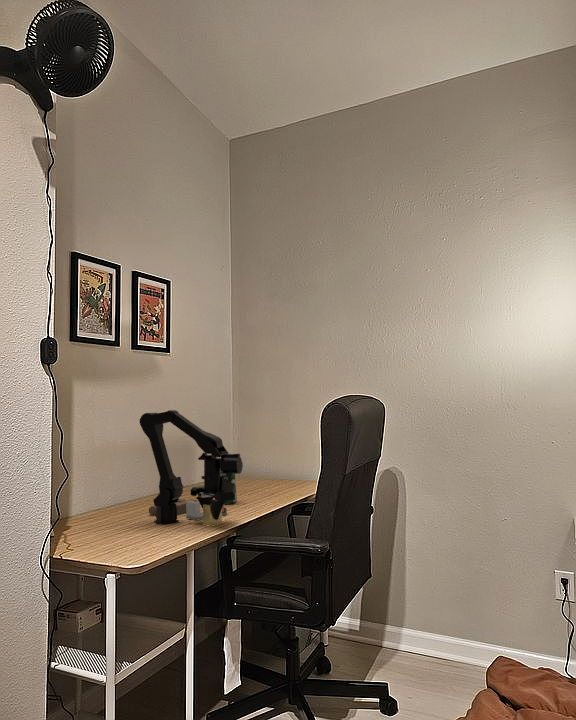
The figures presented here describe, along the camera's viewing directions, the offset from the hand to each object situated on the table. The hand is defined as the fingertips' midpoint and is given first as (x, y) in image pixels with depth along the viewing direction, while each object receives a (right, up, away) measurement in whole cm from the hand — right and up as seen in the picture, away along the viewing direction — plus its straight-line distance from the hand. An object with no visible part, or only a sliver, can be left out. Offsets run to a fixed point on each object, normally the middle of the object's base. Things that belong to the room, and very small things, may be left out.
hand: (212, 518), depth 208 cm
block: (0, -2, 0) cm, 2 cm away
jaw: (0, -2, +18) cm, 18 cm away
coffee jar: (0, -5, +42) cm, 43 cm away
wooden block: (-15, -2, +32) cm, 35 cm away
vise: (-4, -3, +14) cm, 15 cm away
